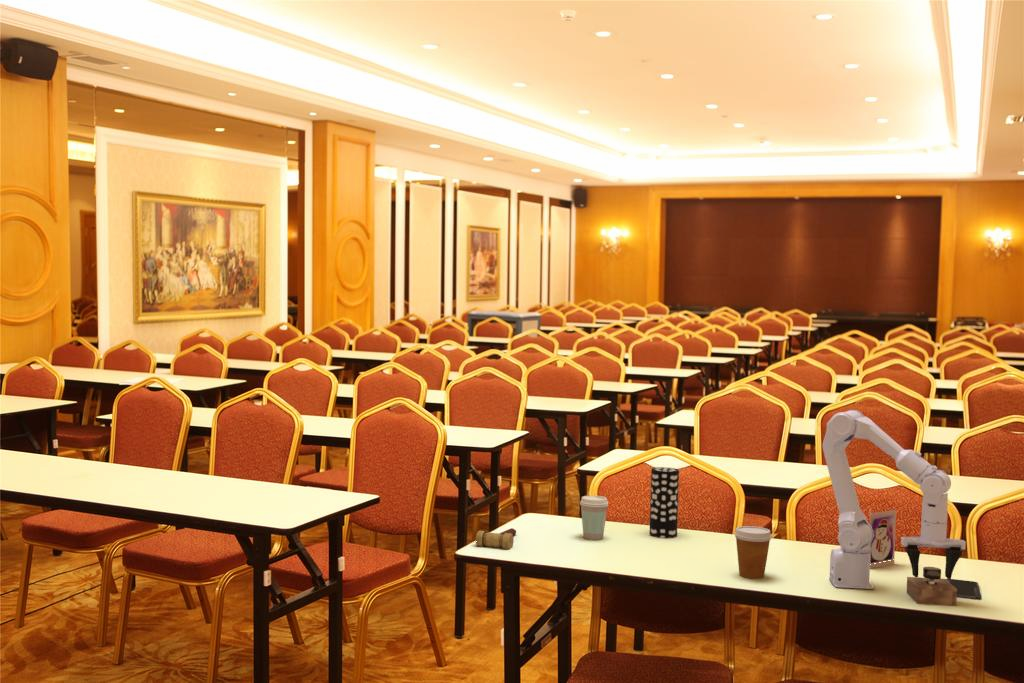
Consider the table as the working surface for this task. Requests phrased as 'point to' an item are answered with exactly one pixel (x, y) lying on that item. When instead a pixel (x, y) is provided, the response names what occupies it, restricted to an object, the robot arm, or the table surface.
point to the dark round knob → (931, 574)
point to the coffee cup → (593, 516)
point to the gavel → (496, 539)
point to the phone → (966, 589)
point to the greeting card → (882, 538)
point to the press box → (931, 591)
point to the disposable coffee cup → (752, 550)
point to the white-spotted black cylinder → (664, 502)
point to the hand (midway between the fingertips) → (931, 576)
